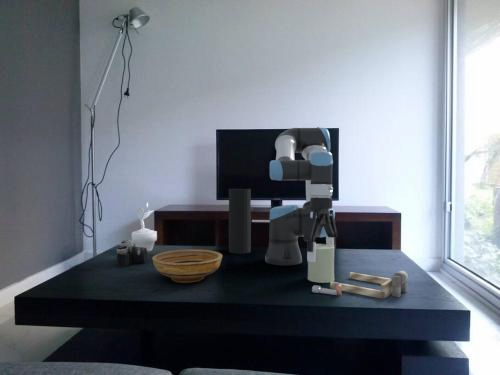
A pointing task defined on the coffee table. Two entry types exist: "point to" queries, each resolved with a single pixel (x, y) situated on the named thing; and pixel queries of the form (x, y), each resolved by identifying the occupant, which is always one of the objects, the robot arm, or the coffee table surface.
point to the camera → (130, 254)
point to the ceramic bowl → (187, 264)
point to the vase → (239, 221)
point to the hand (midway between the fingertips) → (321, 258)
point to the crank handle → (328, 290)
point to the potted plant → (144, 231)
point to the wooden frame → (387, 285)
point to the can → (322, 265)
